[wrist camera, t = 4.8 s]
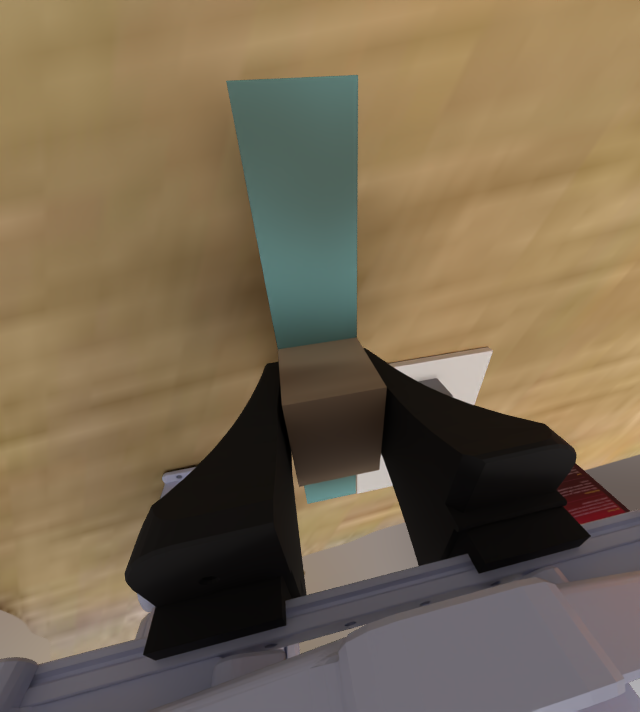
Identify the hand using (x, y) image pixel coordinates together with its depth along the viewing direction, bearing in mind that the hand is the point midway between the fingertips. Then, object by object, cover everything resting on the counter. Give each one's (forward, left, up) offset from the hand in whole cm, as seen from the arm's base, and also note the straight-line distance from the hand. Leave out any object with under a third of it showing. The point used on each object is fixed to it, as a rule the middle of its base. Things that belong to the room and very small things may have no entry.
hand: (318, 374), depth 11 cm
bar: (0, 0, -2) cm, 2 cm away
